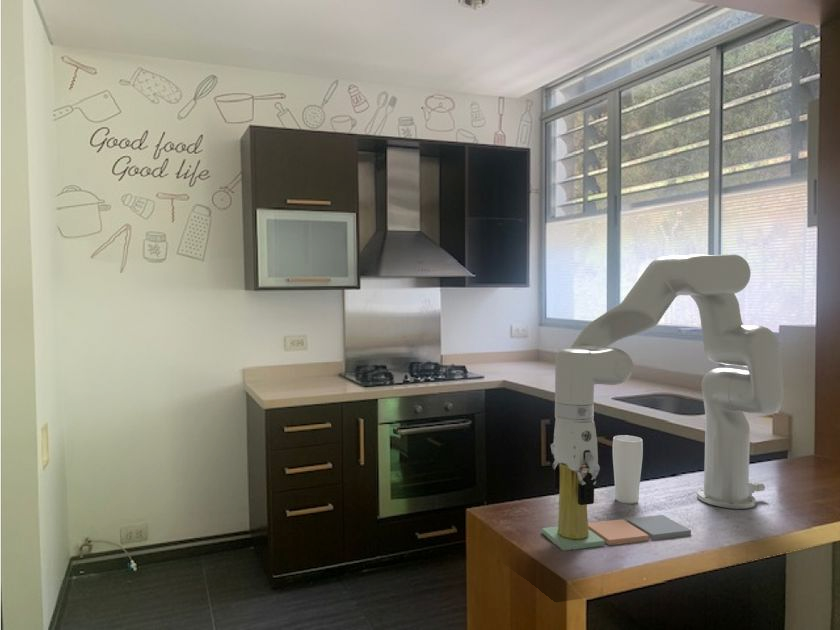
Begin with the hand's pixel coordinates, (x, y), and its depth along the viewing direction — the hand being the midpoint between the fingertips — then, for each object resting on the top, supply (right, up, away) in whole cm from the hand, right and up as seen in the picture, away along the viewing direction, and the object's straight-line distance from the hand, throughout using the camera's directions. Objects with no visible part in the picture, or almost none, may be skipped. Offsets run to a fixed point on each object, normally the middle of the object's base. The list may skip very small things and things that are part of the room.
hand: (573, 495), depth 124 cm
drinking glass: (+19, -8, +23) cm, 31 cm away
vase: (0, -8, 0) cm, 8 cm away
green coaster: (0, -9, 0) cm, 9 cm away
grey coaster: (+19, -9, +6) cm, 22 cm away
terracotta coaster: (+10, -9, +3) cm, 13 cm away
